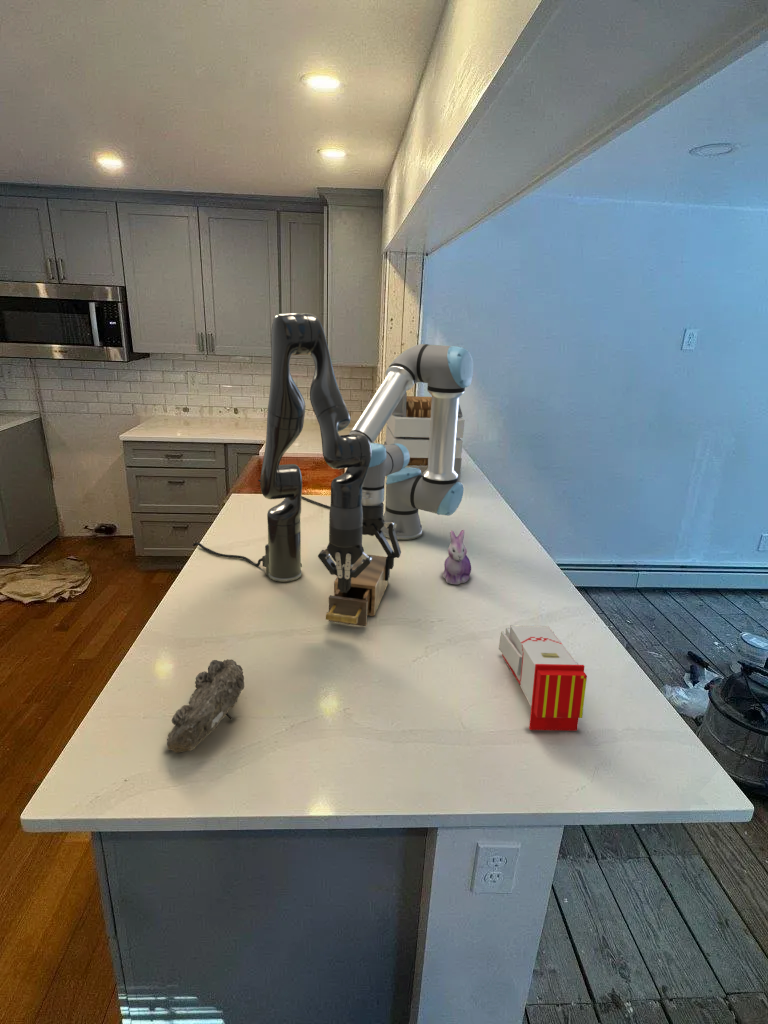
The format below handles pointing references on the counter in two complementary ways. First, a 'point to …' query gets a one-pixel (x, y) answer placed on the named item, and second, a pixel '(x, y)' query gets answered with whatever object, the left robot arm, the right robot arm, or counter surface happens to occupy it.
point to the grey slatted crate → (418, 430)
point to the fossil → (206, 705)
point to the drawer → (350, 606)
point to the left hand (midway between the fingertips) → (344, 591)
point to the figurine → (457, 560)
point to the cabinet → (370, 580)
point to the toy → (545, 676)
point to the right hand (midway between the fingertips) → (367, 576)
